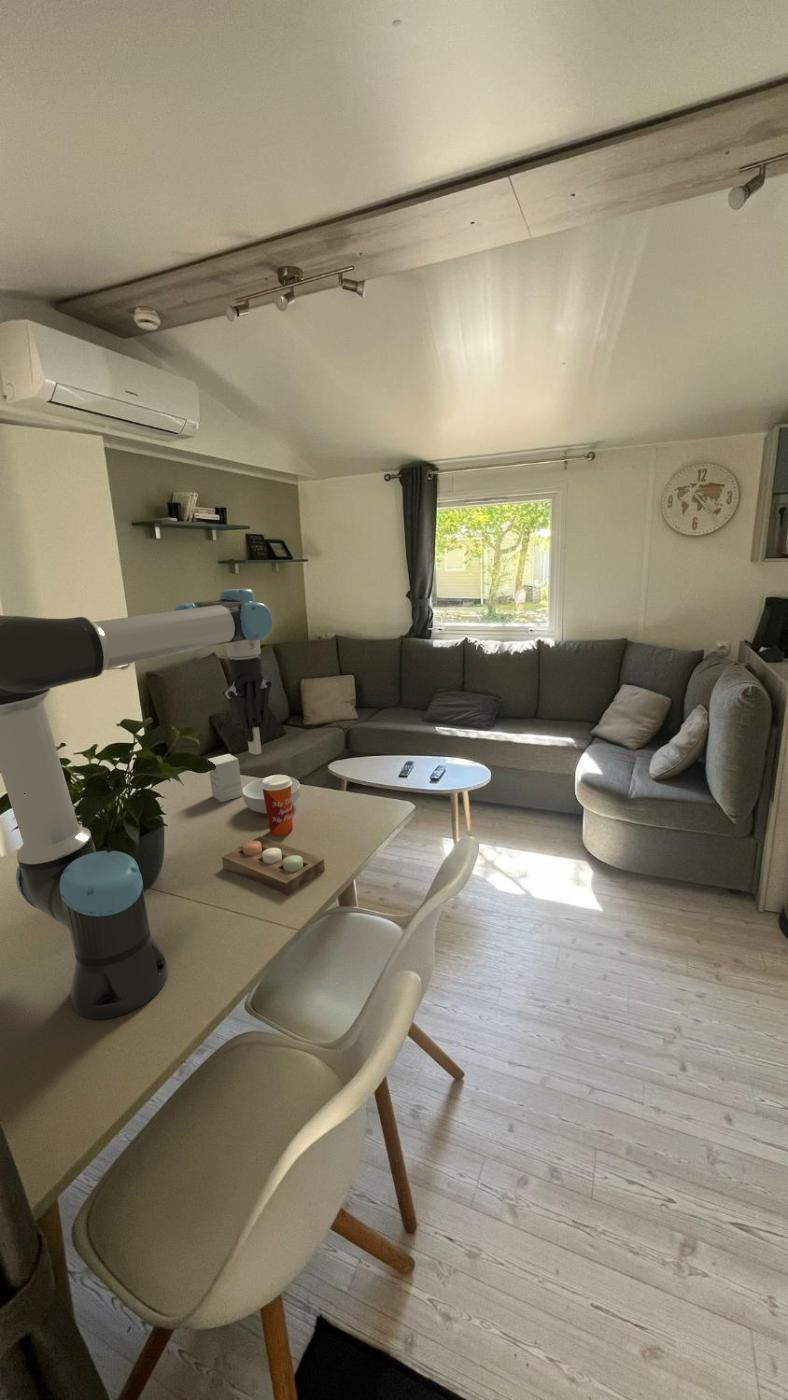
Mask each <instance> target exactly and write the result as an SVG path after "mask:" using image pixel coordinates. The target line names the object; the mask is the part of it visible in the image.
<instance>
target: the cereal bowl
mask: <svg viewBox="0 0 788 1400" xmlns="http://www.w3.org/2000/svg"><path fill="white" fill-rule="evenodd" d="M265 778H266V777H263V778H258V779H255V780H253V781H251V782H249V783H248V784H245V786H244V787H242V795H243V796H242V799H243V803H244V804H245V806H246V807H247V808H249V809H250V810H251V811H254V812H255V813H256V812H257V813H261V814H266V815H267V811H266V806H265V800H264V794H263V789H262V788H261V784H262V781H263V779H265ZM289 778H290V780H291V781H292V785H291V794H292V806H294V805H295V804H296V803H297V801H298V800H299V798H300V796H301V795H300V794H301V784H300V781H298V780H297V779H296V778H295V777H291V776H289Z"/></svg>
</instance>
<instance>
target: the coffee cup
mask: <svg viewBox="0 0 788 1400" xmlns="http://www.w3.org/2000/svg"><path fill="white" fill-rule="evenodd" d="M289 777H290V776H288V775H285V774H274V775H270V776H267V777H264V778H265V779H263V781H262V784H261V788H262V789H263V794H264V800H265V806H266V811H267V814H266V817H267V822H268V827H269V832H270V834H271V835H272V836H275V837H283V836H287V835H289V834H291V833H292V832H293V805H292V794H291V785H292V781H291V780H290V778H289Z"/></svg>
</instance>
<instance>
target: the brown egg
mask: <svg viewBox="0 0 788 1400" xmlns="http://www.w3.org/2000/svg"><path fill="white" fill-rule="evenodd" d="M242 846H243V854H244V855H246V856H249V857H253V856H255V855H257V854H258V853H260V852H262V847H261V842H259V841H252V840H250V841H247V842H245V843H243V844H242Z"/></svg>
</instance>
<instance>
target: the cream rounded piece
mask: <svg viewBox="0 0 788 1400" xmlns="http://www.w3.org/2000/svg"><path fill="white" fill-rule="evenodd" d="M262 856H263V862H264V863H267V864H269V865H273V864H275V863H277V862H278V861H280V860H282V854H281V850H280V849H279V848H269V849H267V850H265V851H263V853H262Z"/></svg>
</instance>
